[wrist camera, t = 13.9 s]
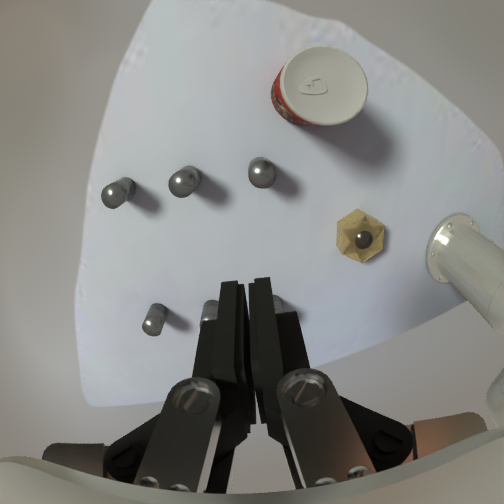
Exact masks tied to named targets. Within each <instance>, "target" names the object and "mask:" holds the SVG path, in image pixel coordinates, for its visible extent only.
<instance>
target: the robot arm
mask: <svg viewBox="0 0 504 504" xmlns="http://www.w3.org/2000/svg"><path fill="white" fill-rule="evenodd" d="M426 265H427V269H428V272H429V273H430V275H431V276H432V277H433V278H434V279H435V280H436V281H438V282H441V283H449V282H450V283H451V284H452V285H453V286H454V287H455V288H456V289H457V290H458V291H459V292H460V293H461V294H462V295H463V296H464V297H465V298H466V299H467V300H468V301H469V302H470V303H471V304H472V305H473V306H474V308H475V309H477V311H478V312H479V313H480V314H481V315H482V316H483V317H484V319H485V320H486V321H487V322H488V323H489V324H490V325H491V326H492V328H493V329H494V330H495V331H497V332H498V333H500V334H502V335H504V250H503V249H501V248H500V247H499V246H497V245H496V244H494V242H493V241H490V240H489V239H487V238H486V237H484V236H483V235H481V234H480V232H479V228H478V225H477V223H476V222H475V220H474V219H472V218H471V217H470V216H468V215H466V214H455V215H452V216H450V217H448V218H447V219H446V220H444V221H443V222H442V223H441V224H440V225H439V226H438V228H437V229H436V231H435V232H434V234H433V236H432V238H431V240H430V242H429V245H428V248H427V253H426ZM254 282H255V283H249V314H248V308H247V301H246V294H245V287H244V284H238V281H227V282H222V283H221V289H220V297H219V305H218V313H217V319H214V320H203V321H202V324H201V329H200V334H199V340H198V345H197V351H196V357H195V363H194V369H193V374H192V377H191V378H188V379H184V380H182V381H180V382H178V383H177V384H176V385H175V386H173V387H172V388H171V390H170V392H169V393H168V395H167V398H166V400H165V403H164V405H163V408H162V410H161V413H160V414H158V415H156V416H155V417H153V418H152V419H150V420H149V421H147V422H146V423H144V424H142V425H141V426H139V427H138V428H136V429H135V430H133V431H131V432H130V433H128V434H127V435H125V436H123V437H122V438H120V439H119V440H117V441H115V442H114V443H113V444H111V445H110V446H105V445H104V443H100V444H99V443H97V444H77V443H74V444H72V443H54V444H51V445H49V446H48V447H47V448H46V449H45V450H44V453H43V456H42V460H41V459H37V458H33V457H26V456H12V457H11V456H10V457H3V458H0V504H504V368H503V369H502V371H501V372H500V373H499V375H498V376H497V377H496V378H495V380H494V381H493V382H492V383H491V385H490V387H489V389H488V390H487V393H486V397H485V405H486V409H487V412H488V414H489V416H490V417H491V419H492V421H493V422H494V423H495V425H496V426H497V427H498V428H495V429H491V430H488V431H487V427H486V423H485V421H484V419H483V418H482V417H481V416H480V415H478V414H476V413H474V412H465V413H461V414H456V415H452V416H446V417H441V418H434V419H428V420H421V421H414V422H413V424H410V425H403V424H402V423H400V422H398V421H395V420H393V419H390V418H388V417H386V416H383V415H381V414H379V413H377V412H374V411H372V410H370V409H367V408H365V407H363V406H361V405H359V404H356V403H354V402H352V401H350V400H348V399H346V398H344V397H342V396H339V395H338V393H337V391H336V389H335V387H334V385H333V383H332V381H331V380H330V378H329V377H328V376H327V375H326V374H324V373H323V372H321V371H318V370H316V369H310V365H309V360H308V356H307V352H306V348H305V344H304V340H303V335H302V331H301V327H300V323H299V319H298V315H297V312H296V311H293V312H285V313H276V314H275V308H274V301H273V294H272V288H271V281H270V277H265V278H256V279H254ZM249 320H250V321H249ZM255 392H256V398H257V403H258V408H259V414H260V419H261V424H264V423H267V429H268V435H269V436H270V437H272V438H273V439H275V440H276V441H278V442H280V443H281V447H282V450H283V454H284V457H285V461H286V464H287V467H288V471H289V474H290V477H291V481H292V484H293V487H294V490H290V491H281V492H269V493H253V494H231V489H232V483H233V478H234V473H235V468H236V463H237V457H238V451H239V444H240V443H241V442H242V441H244V440H245V439H246V438H247V433H250V425H251V424H256V402H255Z"/></svg>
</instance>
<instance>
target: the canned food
mask: <svg viewBox="0 0 504 504" xmlns="http://www.w3.org/2000/svg"><path fill="white" fill-rule="evenodd" d="M367 96H368V82H367V78H366V75H365V73H364V71H363V69H362V67H361V66H360V65H359V63H358V62H357V61H356V60H355V59H354V58H353V57H352V56H350V55H349V54H348V53H346V52H344V51H342V50H340V49H338V48H334V47H331V46H323V45H319V46H311V47H308V48H304V49H302V50H300V51H299V52H297V53H295V54H294V55H293V56H292V57H290V58H289V60H288V61H287V62H286V63H285V65H284V66H283V68H282V69H281V71H280V72H279V74H278V76H277V77H276V79H275V81H274V83H273V85H272V89H271V99H272V103H273V105H274V108H275V109H276V111H277V112H278V113H279V114H280V115H281V116H282V117H283V118H284V119H286V120H288V121H289V122H292V123H295V124H299V125H316V126H332V125H338V124H341V123H344V122H347V121H349V120H350V119H352V118H354V117H355V116H356V115H357V114H358V113H359V112H360V111H361V110H362V108H363V107H364V105H365V102H366V100H367Z"/></svg>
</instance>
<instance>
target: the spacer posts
mask: <svg viewBox="0 0 504 504" xmlns="http://www.w3.org/2000/svg"><path fill="white" fill-rule="evenodd" d="M248 173H249V180H250V182H251V183H252V185H254V186H255V187H257V188H268V187H270V186H271V185H272V184H273V183H274V181H275V179H276V171H275V169H274V167H273V165H272V164H271V162H270V161H269V160H268V159H266V158H263V157H258V158H255V159H253V160H252V161H251V162H250V164H249V167H248ZM200 180H201V175H200V172H199V171H198V169H197V168H195V167H193V166H185V167H183V168H182V169H180V170H179V171H177V172H176V173H175V174H173V175H172V176H171V178H170V180H169V189H170V191H171V193H172V194H173V195H174V196H176V197H179V198H184V197H187V196H189V195H190V194H191V193H192V192H193V191H194V189H195V188H196V187H197V186H198V184H199V183H200ZM135 191H136V186H135V183H134V182H133V180H131V179H130V178H127V177H124V178H121V179H119V180H117V181H115V182H113V183H111V184H109V185H107V186H106V187H105V188H104V189H103V190H102V194H101V198H102V201H103V203H104V205H105V206H106V207H108V208H111V209H115V208H117V207H119V206H120V205H121V204H123V203H124V202H126V201H127V200H128V199H130V198H131V197H132V196H133V195H134V194H135ZM273 301H274V308H275V314H276V313H284V312H283V307H282V301H281V299H280V298H279V297H278V296H276V295H273ZM218 305H219V302H218V301H216V300H209V301H207V302H206V303H205V304H204V306H203V311H202V316H201V321H200V329H201V324H202V321H203V320H214V319H217V313H218ZM167 314H168V311H167V309H166V307H165V306H163V305H161V304H158V303H156V304H153V305H151V307H150V309H149V311H148V313H147V316H146V318H145V320H144V322H143V325H142V329H143V331H144V332H145V333H146V334H148V335H150V336H158V335H160V333H161V331H162V328H163V325H164V322H165V320H166V317H167Z"/></svg>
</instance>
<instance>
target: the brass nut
mask: <svg viewBox="0 0 504 504" xmlns="http://www.w3.org/2000/svg"><path fill="white" fill-rule="evenodd" d="M384 227H385V226H384V225H383V224H381V223H380V222H379V221H378V220H377V219H375V218H374V217H372V216H370V215H368V214H366V213H365V212H363V211H361V210H359V209H356V210H354V211H353V212H351V213H350V214H348V215H347V216H345V217H344V218H342V219H341V220H339V221H338V222H337V247H338V248H339V250H340V251H341V253H342V254H343V255H345V256H348V257H350V258H352V259H354V260H356V261H358V262H361V263H363V262H365V261H366V260H368V259H369V258H371V257H372V256H374V255H375V254H377V253H378V252H380V251H381V250H382V249H383V239H384Z"/></svg>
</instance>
